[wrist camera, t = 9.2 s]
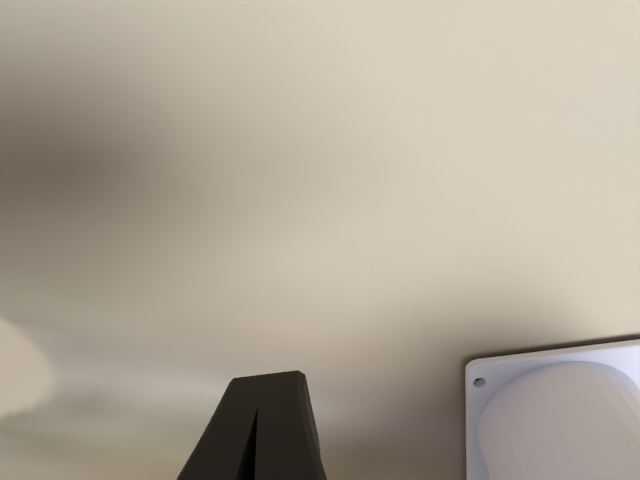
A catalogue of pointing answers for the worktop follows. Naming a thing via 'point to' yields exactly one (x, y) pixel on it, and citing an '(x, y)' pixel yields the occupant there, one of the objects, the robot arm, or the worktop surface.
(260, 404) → the robot arm
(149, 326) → the worktop surface
